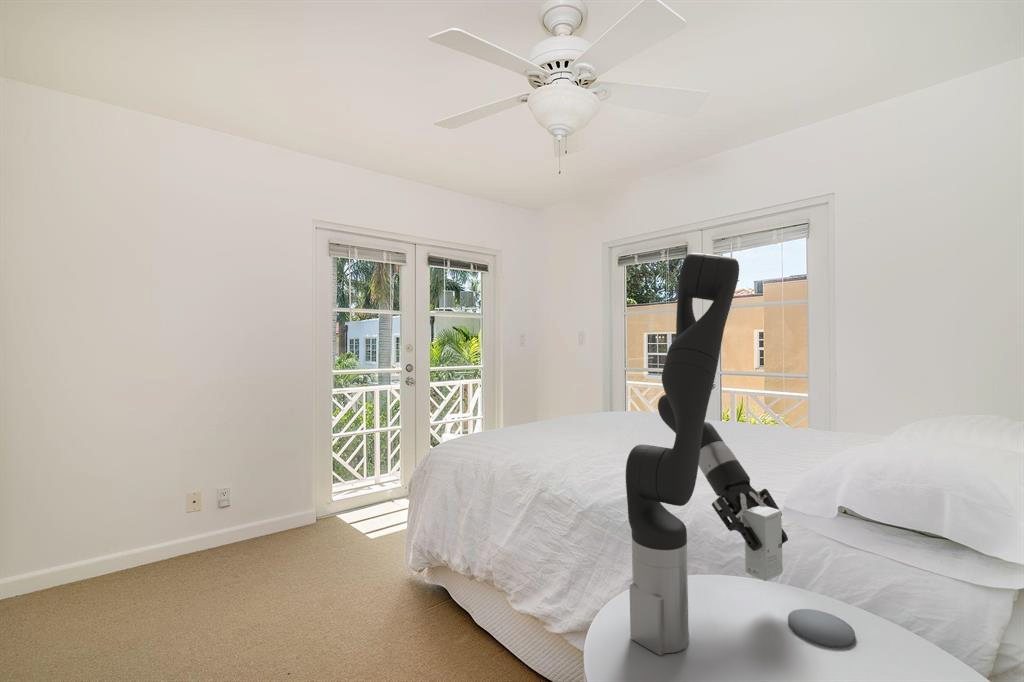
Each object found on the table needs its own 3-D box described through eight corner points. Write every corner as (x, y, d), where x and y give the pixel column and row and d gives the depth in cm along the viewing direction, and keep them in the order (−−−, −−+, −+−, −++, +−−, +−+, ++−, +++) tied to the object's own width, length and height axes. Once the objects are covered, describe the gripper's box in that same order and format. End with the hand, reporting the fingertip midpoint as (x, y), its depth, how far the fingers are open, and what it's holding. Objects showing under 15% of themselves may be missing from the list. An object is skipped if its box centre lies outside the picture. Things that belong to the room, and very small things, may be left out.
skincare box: (766, 582, 90) (766, 517, 90) (743, 572, 94) (743, 510, 94) (784, 573, 94) (783, 510, 94) (761, 564, 97) (760, 503, 97)
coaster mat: (843, 655, 79) (842, 650, 79) (778, 627, 87) (778, 623, 87) (863, 631, 85) (863, 626, 85) (801, 607, 93) (801, 602, 93)
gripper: (705, 462, 98) (756, 543, 87) (756, 455, 103) (810, 530, 93) (686, 481, 102) (732, 561, 92) (735, 473, 108) (784, 547, 98)
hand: (771, 545), depth 92 cm, fingers closed on skincare box, 6 cm apart
